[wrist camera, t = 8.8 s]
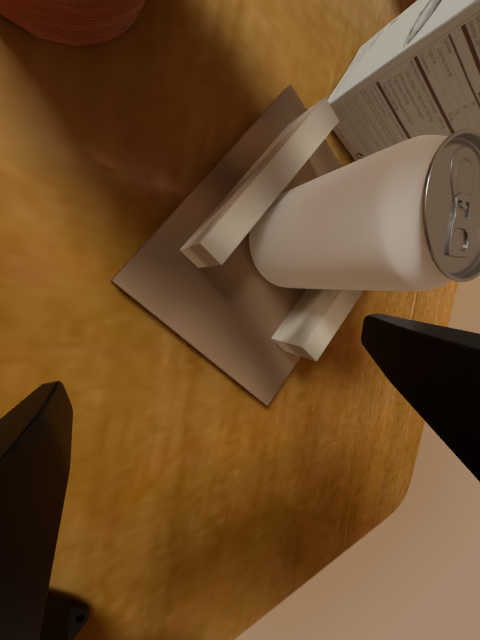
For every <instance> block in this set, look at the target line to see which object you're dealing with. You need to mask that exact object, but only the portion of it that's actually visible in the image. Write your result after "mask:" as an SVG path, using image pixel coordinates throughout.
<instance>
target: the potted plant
mask: <svg viewBox="0 0 480 640" xmlns="http://www.w3.org/2000/svg"><path fill="white" fill-rule="evenodd" d="M144 3H145V0H0V14H1V15H2V16H4V17H6V18H7V19H9V20H10V21H12V22H13V23H15V24H17V25H18V26H20V27H21V28H23V29H24V30H26V31H28V32H29V33H31V34H32V35H34V36H35V37H37V38H39V39H43V40H47V41H51V42H55V43H60V44H64V45H68V46H73V47H79V46H90V45H100V44H105V43H107V42H109V41H111V40H112V39H114V38H116V37H118V36H120V35H121V34H123V33H125V32H127V30H128V29H129V27H130V26H131V24H132V23H133V22H134V20H135V19H136V17H137V16H138V14H139V13H140V11H141V10H142V7H143V5H144Z"/></svg>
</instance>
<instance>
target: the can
mask: <svg viewBox="0 0 480 640" xmlns="http://www.w3.org/2000/svg"><path fill="white" fill-rule="evenodd" d="M249 247H250V253H251V256H252V259H253V262H254V264H255V266H256V268H257V270H258V271H259V272H260V274H261V275H262V276H263V277H264V278H265V279H266V280H267V281H269V282H270V283H272V284H274V285H276V286H279V287H285V288H304V289H336V290H374V291H426V290H431V289H435V288H438V287H440V286H443V285H445V284H447V283H449V282H452V281H457V282H467V281H470V280H472V279H475V278H476V277H478V276H479V275H480V133H479V132H478V131H475V130H472V129H463V130H459V131H457V132H454V133H453V134H451V135H450V136H442V135H421V136H417V137H414V138H411V139H408V140H405V141H403V142H400V143H398V144H395V145H393V146H391V147H388V148H386V149H383V150H381V151H379V152H376V153H374V154H372V155H369V156H367V157H365V158H362V159H360V160H358V161H355V162H353V163H351V164H348V165H346V166H344V167H341V168H339V169H337V170H334V171H332V172H330V173H327V174H325V175H323V176H320V177H318V178H316V179H314V180H311V181H309V182H307V183H304V184H302V185H300V186H297V187H295V188H293V189H291V190H288V191H286V192H284V193H282V194H279V196H278V197H277V198H276V199H275V200H274V202H273V203H272V204H271V205H270V207H269V208H268V209H267V210H266V211H265V213H264V214H263V215H262V216H261V218H260V219H259V220H258V221H257V223H256V224H255V225H254V226H253V227H252V229H251V230H250V233H249Z"/></svg>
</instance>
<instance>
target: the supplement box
mask: <svg viewBox="0 0 480 640" xmlns="http://www.w3.org/2000/svg"><path fill="white" fill-rule="evenodd" d="M327 101H328V102H329V104H330V106H331V108H332V109H333V111H334V113H335V114H336V116H337V118H338V120H339V122H338V123H337V125H336V126H335V127H334V128H333V131H334V132H335V134H336V135H337V136H338V138H339V139H340V141H341V142H342V143H343V145H344V146H345V148H346V149H347V150H348V152H349V153H350V154H351V156H352V157H353V159H354V160H355V161H358V160H360V159H362V158H365V157H367V156H369V155H372V154H374V153H376V152H379V151H381V150H383V149H386V148H388V147H391V146H393V145H395V144H398V143H400V142H403V141H405V140H408V139H411V138H414V137H417V136H421V135H442V136H450V135H451V134H453V133H454V132H457V131H459V130H463V129H472V130H475V131H478V132H479V133H480V0H417V1H416V2H415V3H413V4H412V5H411V6H410V7H409V8H407V9H406V10H405V11H404V12H402V13H401V14H400V15H399V16H398V17H396V18H395V19H394V20H393V21H391V22H390V23H389V24H388V25H387V26H385V27H384V28H383V29H382V30H381V31H379V32H378V33H377V34H376V35H375V36H373V37H372V38H371V39H370V40H369V41H367V42H366V43H365V44H364V45H363V46H361V48H360V49H359V51H358V53H357V54H356V56H355V58H354V60H353V61H352V63H351V65H350V66H349V68H348V70H347V71H346V73H345V74H344V76H343V77H342V79H341V81H340V82H339V84H338V85H337V86H336V88H335V90H334V91H333V92H332V94H331V95H330V97H329V98H328V100H327Z"/></svg>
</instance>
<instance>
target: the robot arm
mask: <svg viewBox="0 0 480 640" xmlns="http://www.w3.org/2000/svg"><path fill="white" fill-rule="evenodd" d="M361 342H362V344H363V346H364V347H365V349H366V350H367V351H368V353H369V354H370V356H371V357H372V358H373V360H374V361H375V362H376V364H377V365H378V366H379V368H380V369H381V370H382V372H383V373H384V375H385V376H386V377H387V378H388V380H389V381H390V382H391V383H392V384H393V386H394V387H395V388H396V389H397V390H398V391H399V392H400V393H401V395H402V396H403V397H404V398H405V399H406V400H407V401H408V402H409V403H410V405H411V406H412V407H413V408H414V409H415V410H416V411H417V412H418V413H419V415H420V416H421V417H422V418H423V419H424V420H425V421H426V422H427V423H428V425H429V426H430V427H431V428H432V429H433V430H434V431H435V432H436V434H437V435H438V436H439V437H440V438H441V439H442V440H443V441H444V442H445V444H446V445H447V446H448V447H449V448H450V449H451V450H452V451H453V452H454V454H455V455H456V456H457V457H458V458H459V459H460V460H461V461H462V463H463V464H464V465H465V466H466V467H467V468H468V469H469V470H470V471H471V473H472V474H473V475H474V476H475V477H476V478H477V479H478V480H479V482H480V334H478V333H473V332H468V331H463V330H458V329H453V328H448V327H443V326H438V325H433V324H428V323H423V322H418V321H413V320H408V319H403V318H398V317H393V316H389V315H384V314H372V315H368V316H366V317H365V318H364V322H363V328H362V334H361ZM72 421H73V410H72V405H71V403H70V400H69V398H68V395H67V393H66V390H65V388H64V385H63V384H62V383H61V382H60V381H55V382H50V383H45V384H42V385H41V386H39V387H38V388H37V389H36V390H35V391H33V392H32V393H31V394H30V395H29V396H27V397H26V398H25V399H24V400H23V401H21V402H20V403H19V404H18V405H17V406H15V407H14V408H13V409H12V410H11V411H9V412H8V413H7V414H6V415H5V416H3V417H2V418H1V419H0V640H74V638H75V637H76V635H77V634H78V632H79V631H80V630H81V628H82V627H83V625H84V624H85V623H86V621H87V620H88V618H89V607H88V606H87V605H85V604H82V603H78V602H74V601H70V600H66V599H62V598H59V597H55V596H51V595H47V593H48V587H49V582H50V576H51V571H52V565H53V560H54V554H55V549H56V543H57V538H58V532H59V527H60V521H61V516H62V510H63V505H64V499H65V494H66V488H67V483H68V477H69V470H70V459H71V440H72ZM81 614H82V615H81ZM79 615H81V616H79Z"/></svg>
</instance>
